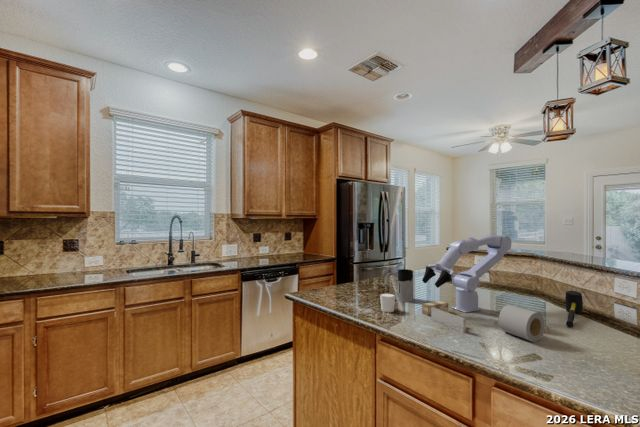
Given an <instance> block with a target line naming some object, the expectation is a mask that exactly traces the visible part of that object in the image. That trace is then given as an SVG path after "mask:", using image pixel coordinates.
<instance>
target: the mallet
mask: <svg viewBox="0 0 640 427" xmlns="http://www.w3.org/2000/svg"><path fill="white" fill-rule="evenodd" d="M564 297H565V300H564V301H565V309H566V313H567V320H566V322H565V326H566V327H567V328H569V329H572V328H573V327H574V322H575V318H576V315H581V314H582V313H583V306H584V305H583V304H584V303H583V295H582V293H581V292H579V291H578V290H577V291H576V290H566V291H565V296H564Z"/></svg>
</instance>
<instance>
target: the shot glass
mask: <svg viewBox="0 0 640 427" xmlns="http://www.w3.org/2000/svg"><path fill="white" fill-rule="evenodd" d="M379 298H380V309H381V312H384V313H393V312H394V311H395V302H396V295H395V294H392V293H388V292H387V293H381V294H379Z"/></svg>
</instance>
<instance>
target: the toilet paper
mask: <svg viewBox="0 0 640 427" xmlns="http://www.w3.org/2000/svg"><path fill="white" fill-rule="evenodd" d="M540 313H541V312H540ZM540 313H537V312H533V311H529V310H526V309H522V308H519V307H516V306H515V305H511V304H506V305H504V306H503V307H502V308H501V310H500V312H499V315H498V325H499V327H500V329H501V331H503V332H505V333H507V334H510V335H513V336H517V337H519V338H521V339H524V340H526V341H528V342H532V343H536V342H538V341H540V340H541V338H542V336H543V335H544V333H545V326H546V324H545V319H544V316H543V315H541V314H542V313H541V314H540Z"/></svg>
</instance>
